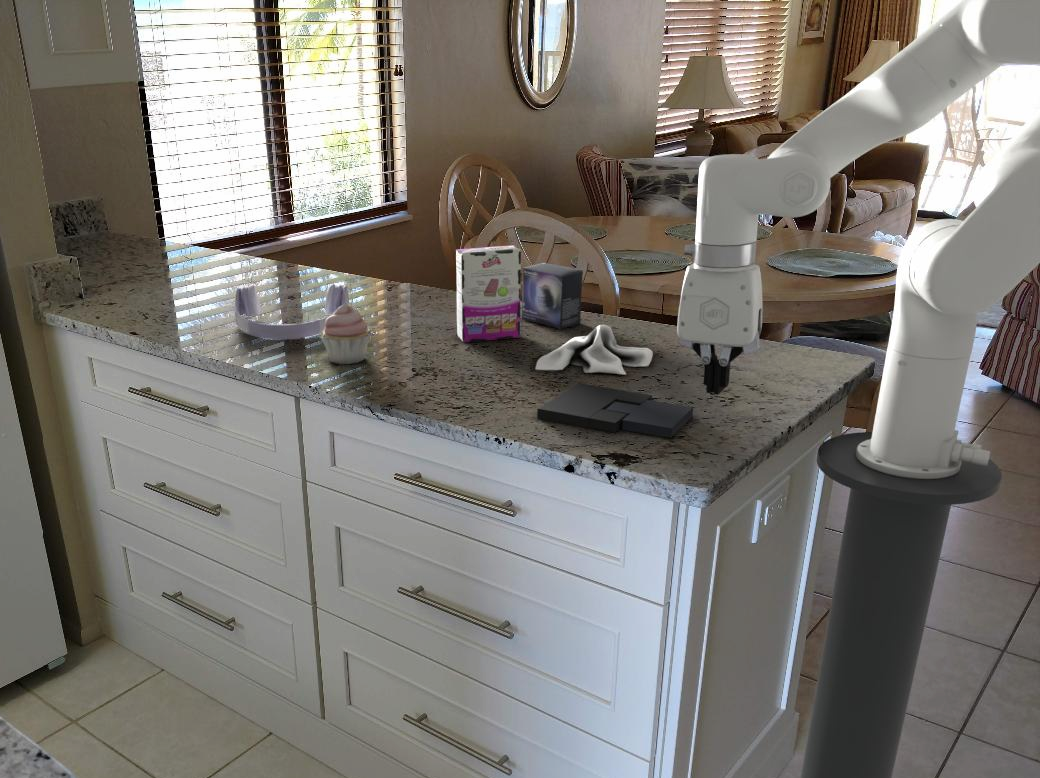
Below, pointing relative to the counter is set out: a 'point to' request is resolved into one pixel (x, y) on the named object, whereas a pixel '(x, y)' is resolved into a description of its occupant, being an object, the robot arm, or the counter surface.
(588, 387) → the black notched block
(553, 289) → the small box
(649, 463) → the counter surface
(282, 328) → the headphones
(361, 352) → the cupcake
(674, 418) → the charcoal pad
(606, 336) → the cloth
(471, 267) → the candy bar box
